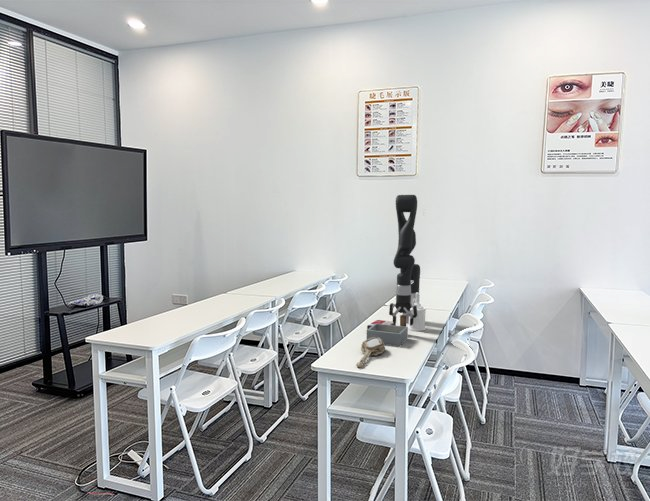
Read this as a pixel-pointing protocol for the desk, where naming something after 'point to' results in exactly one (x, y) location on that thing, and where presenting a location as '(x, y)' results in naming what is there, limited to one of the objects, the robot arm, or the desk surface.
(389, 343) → the grey open box
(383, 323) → the calculator
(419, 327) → the white cylindrical bottle
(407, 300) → the robot arm
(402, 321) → the peg
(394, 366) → the desk surface
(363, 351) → the hand mirror
